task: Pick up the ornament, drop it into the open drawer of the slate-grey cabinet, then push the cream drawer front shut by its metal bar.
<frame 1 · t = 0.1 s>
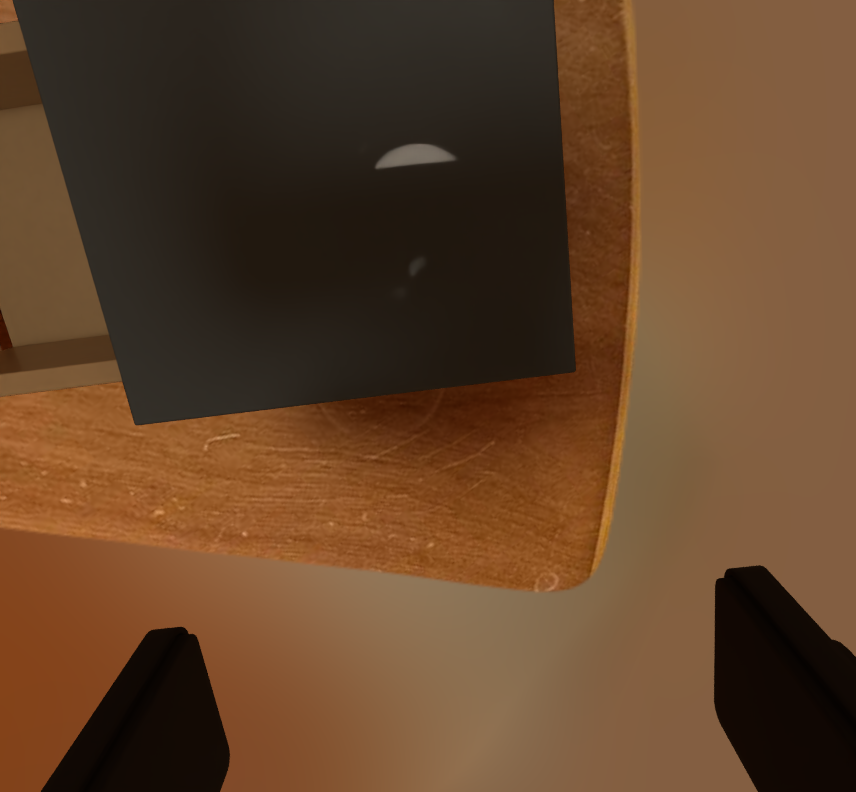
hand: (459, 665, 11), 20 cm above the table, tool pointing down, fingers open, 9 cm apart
cabinet: (354, 189, 27), on the table
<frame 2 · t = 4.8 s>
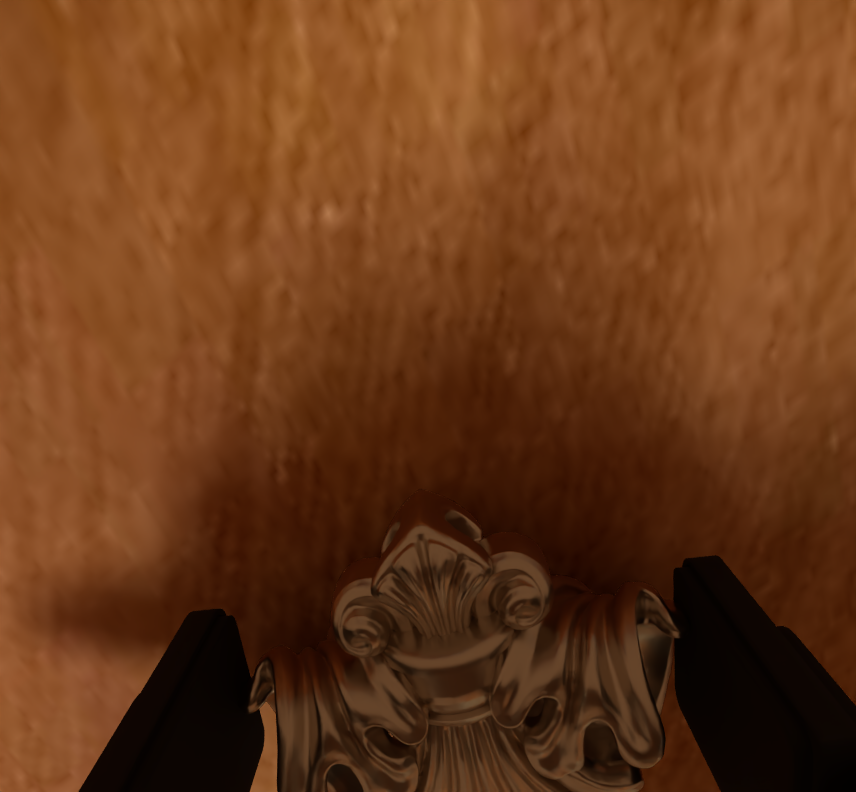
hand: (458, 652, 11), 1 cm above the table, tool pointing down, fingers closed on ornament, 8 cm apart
ornament: (458, 610, 12), on the table, touching gripper
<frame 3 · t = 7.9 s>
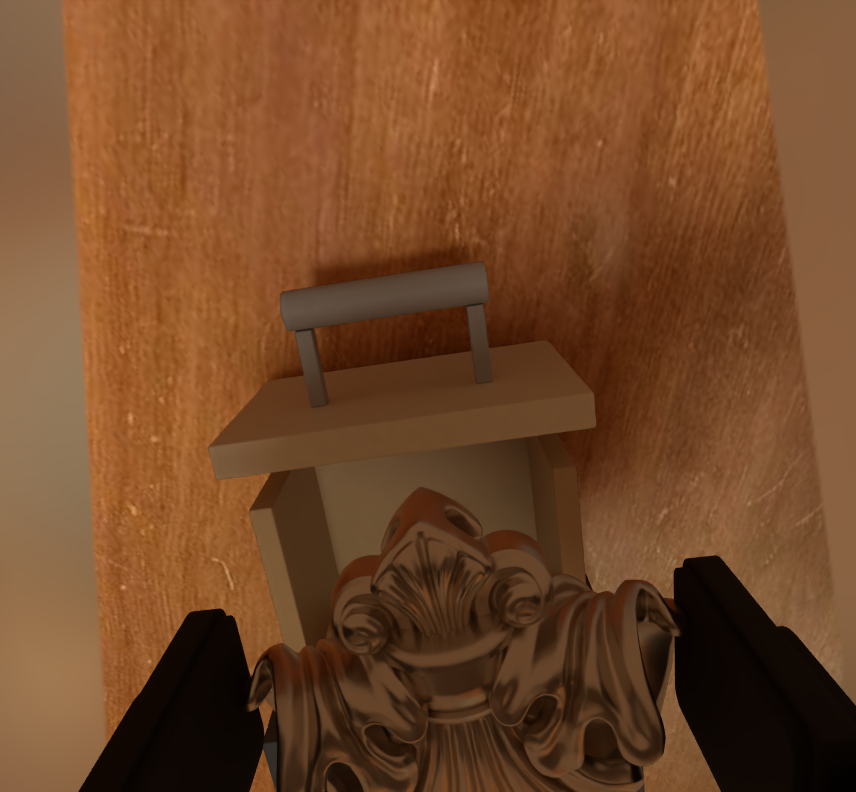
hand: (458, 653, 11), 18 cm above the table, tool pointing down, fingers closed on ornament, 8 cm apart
ornament: (458, 608, 12), point 16 cm above the table, touching gripper
drawer: (421, 495, 24), point 5 cm above the table, slide at 10.0 cm
cabinet: (460, 684, 33), on the table
when the fingers open (9 cm above the table, at t = 11.1 s): ornament drops 6 cm, resting on drawer.
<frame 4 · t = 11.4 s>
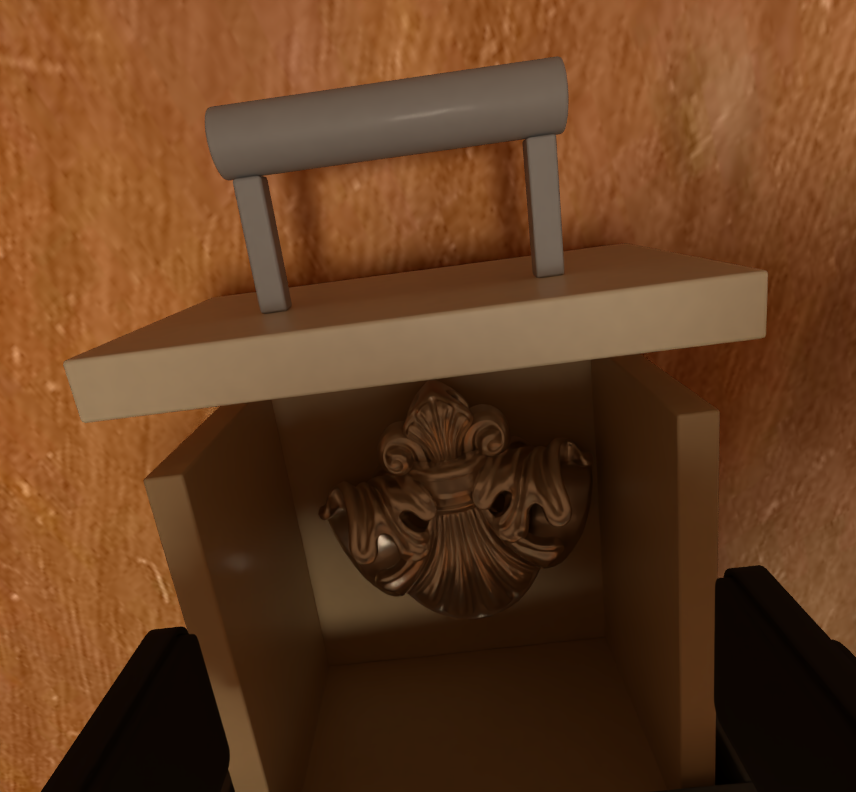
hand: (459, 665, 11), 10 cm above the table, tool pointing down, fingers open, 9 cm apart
ornament: (454, 471, 19), point 2 cm above the table, touching drawer
drawer: (437, 468, 16), point 5 cm above the table, slide at 10.0 cm, touching ornament
cabinet: (479, 736, 24), on the table
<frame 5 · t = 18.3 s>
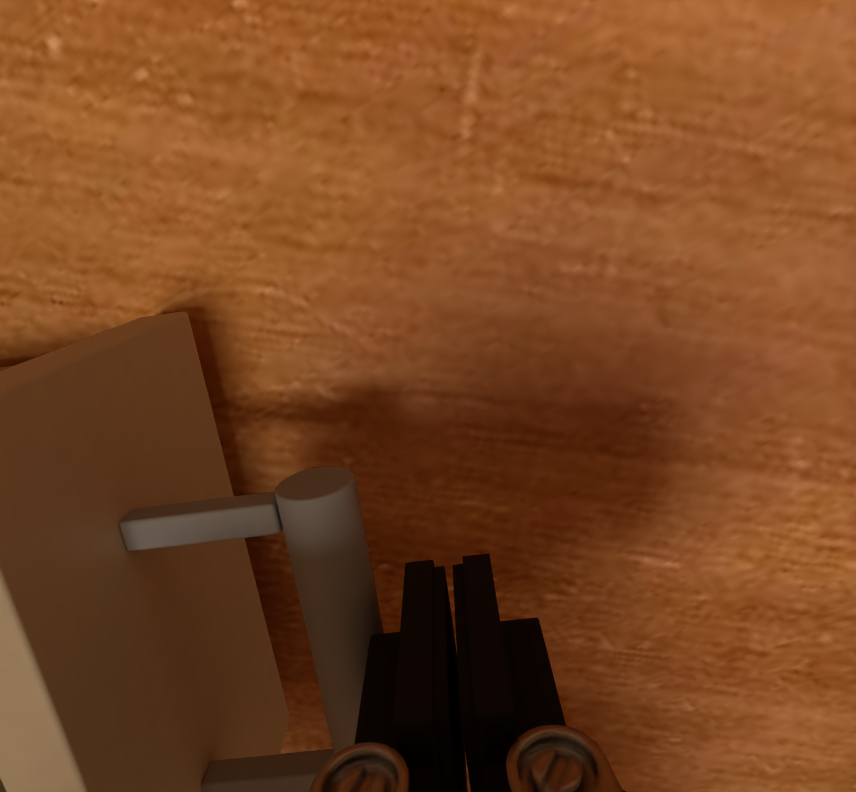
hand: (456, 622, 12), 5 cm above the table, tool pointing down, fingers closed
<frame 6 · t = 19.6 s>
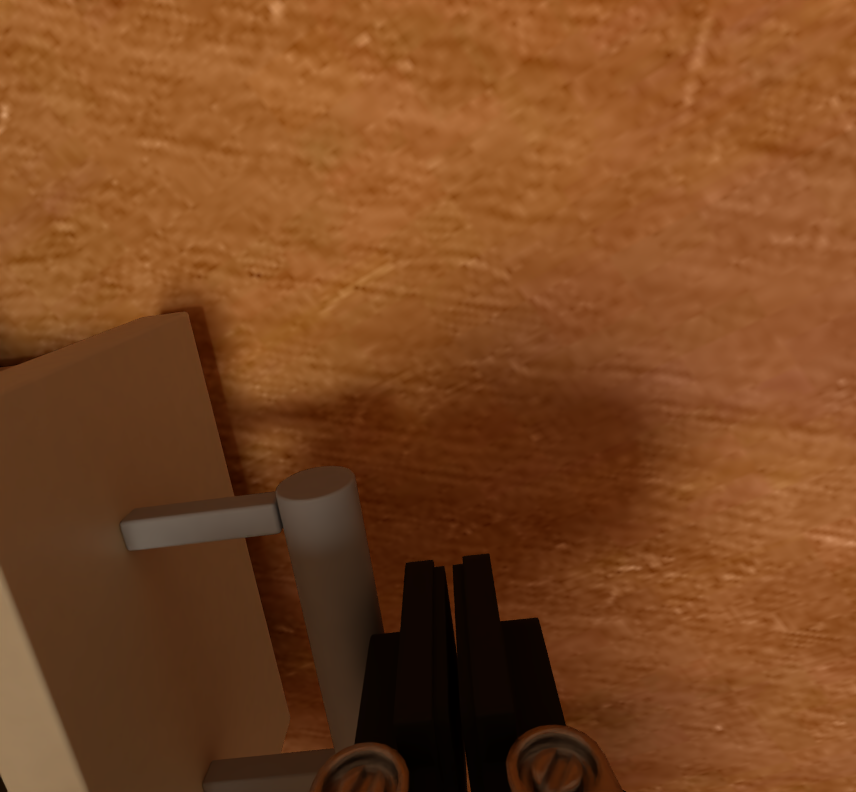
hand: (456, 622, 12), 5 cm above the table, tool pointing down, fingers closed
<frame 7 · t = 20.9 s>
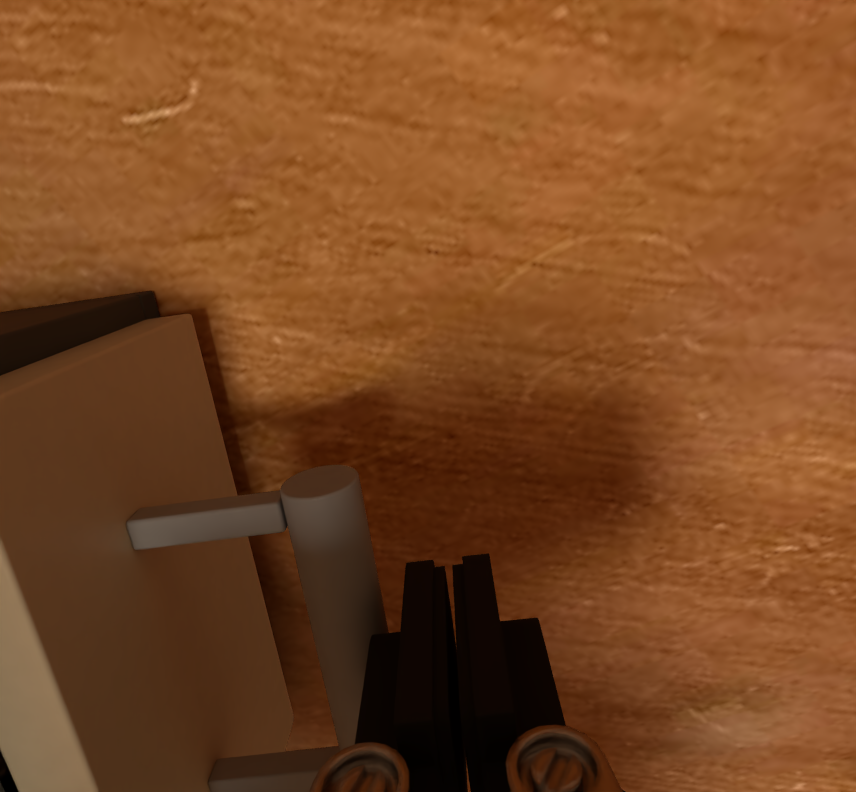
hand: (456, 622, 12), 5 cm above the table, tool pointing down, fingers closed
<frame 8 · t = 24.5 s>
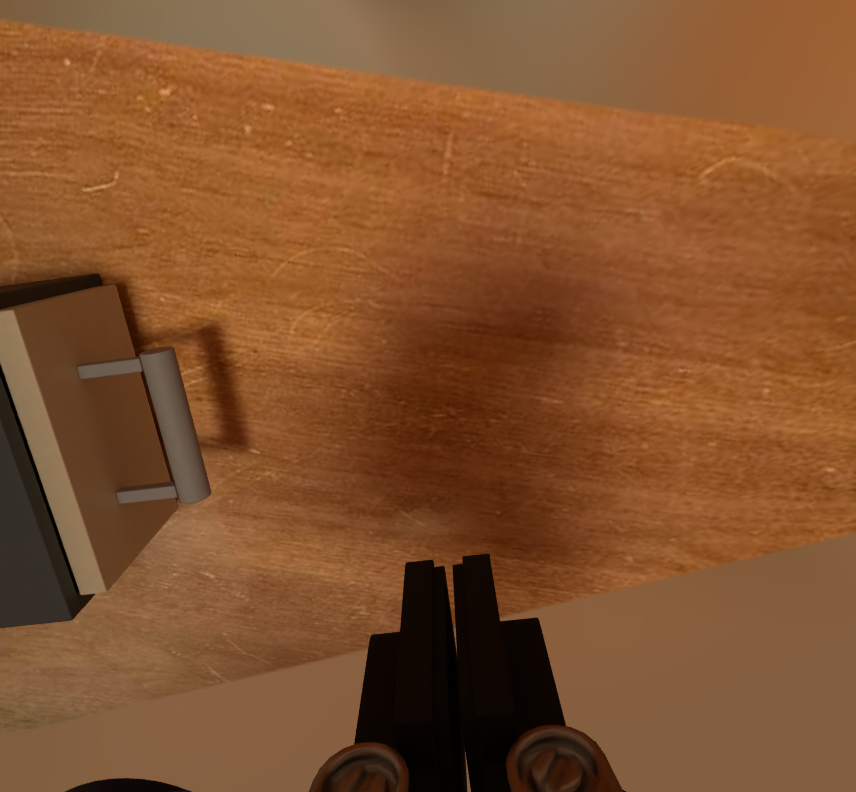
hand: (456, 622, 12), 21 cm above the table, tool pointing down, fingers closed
ornament: (28, 429, 32), point 2 cm above the table, touching drawer
drawer: (15, 440, 29), point 5 cm above the table, slide at 0.0 cm, touching ornament
cabinet: (5, 416, 33), on the table
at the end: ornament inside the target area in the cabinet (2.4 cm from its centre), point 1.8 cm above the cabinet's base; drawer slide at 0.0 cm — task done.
